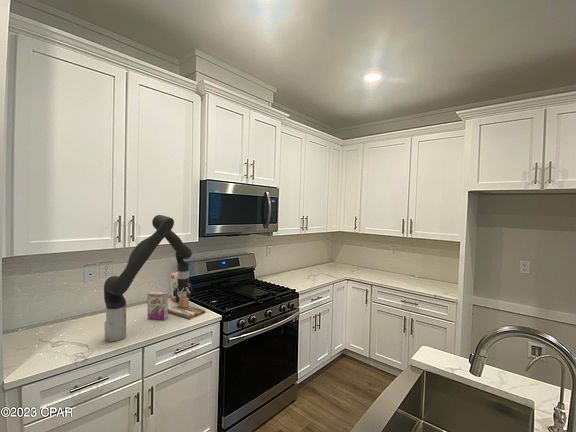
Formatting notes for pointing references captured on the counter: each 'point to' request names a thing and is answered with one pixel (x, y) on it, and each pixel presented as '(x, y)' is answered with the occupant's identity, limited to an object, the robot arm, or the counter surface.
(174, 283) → the cracker box
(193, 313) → the board
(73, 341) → the counter surface
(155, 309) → the candy bar box
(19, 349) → the counter surface
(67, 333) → the counter surface
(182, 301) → the tan block
